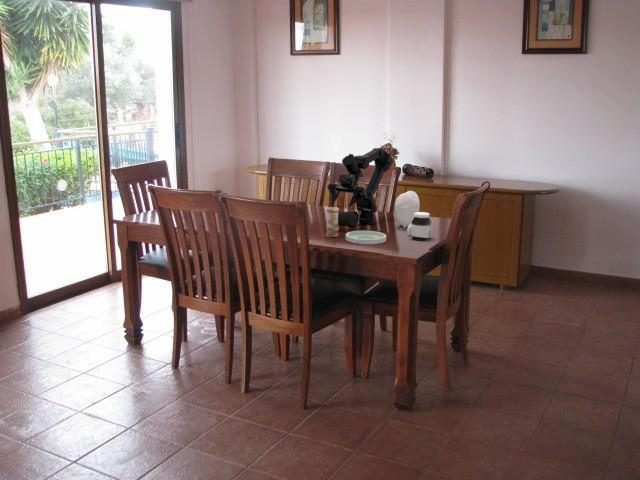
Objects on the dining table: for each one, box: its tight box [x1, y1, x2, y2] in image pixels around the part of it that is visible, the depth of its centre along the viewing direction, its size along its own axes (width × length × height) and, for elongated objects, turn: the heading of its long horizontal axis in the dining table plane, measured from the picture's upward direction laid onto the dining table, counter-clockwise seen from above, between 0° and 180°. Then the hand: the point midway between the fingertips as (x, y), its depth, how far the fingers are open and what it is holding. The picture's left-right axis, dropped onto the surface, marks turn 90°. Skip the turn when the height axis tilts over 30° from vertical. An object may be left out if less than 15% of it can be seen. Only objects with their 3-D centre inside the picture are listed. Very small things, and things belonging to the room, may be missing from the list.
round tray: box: [345, 230, 387, 245], centre depth 317 cm, size 18×18×2 cm
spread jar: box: [406, 211, 432, 241], centre depth 322 cm, size 12×11×12 cm
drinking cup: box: [338, 210, 367, 227], centre depth 345 cm, size 8×8×20 cm
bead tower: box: [325, 206, 340, 238], centre depth 321 cm, size 6×6×13 cm
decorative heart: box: [394, 190, 421, 230], centre depth 342 cm, size 18×11×17 cm, turn 153°
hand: (340, 205), depth 325 cm, fingers open, 9 cm apart
